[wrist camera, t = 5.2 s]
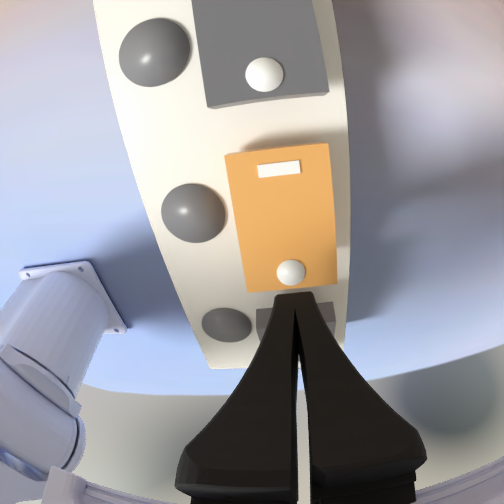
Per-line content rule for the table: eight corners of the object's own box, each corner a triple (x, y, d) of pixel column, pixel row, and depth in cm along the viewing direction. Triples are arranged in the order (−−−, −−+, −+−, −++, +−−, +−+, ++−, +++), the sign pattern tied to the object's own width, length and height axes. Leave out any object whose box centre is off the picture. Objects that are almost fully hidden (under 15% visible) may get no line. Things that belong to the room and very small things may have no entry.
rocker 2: (333, 271, 14) (337, 284, 13) (249, 280, 15) (247, 293, 14) (323, 141, 12) (328, 143, 11) (228, 153, 12) (223, 156, 11)
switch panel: (333, 359, 27) (338, 395, 23) (228, 367, 28) (224, 403, 25) (305, -47, 9) (316, -75, 6) (121, -8, 11) (85, -20, 7)
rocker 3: (327, 349, 20) (329, 366, 19) (269, 355, 20) (269, 372, 19) (332, 301, 15) (336, 322, 14) (256, 308, 16) (255, 330, 15)
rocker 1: (323, 95, 10) (329, 91, 9) (214, 109, 10) (206, 107, 9) (296, -37, 7) (298, -51, 6) (194, -22, 8) (186, -35, 7)
